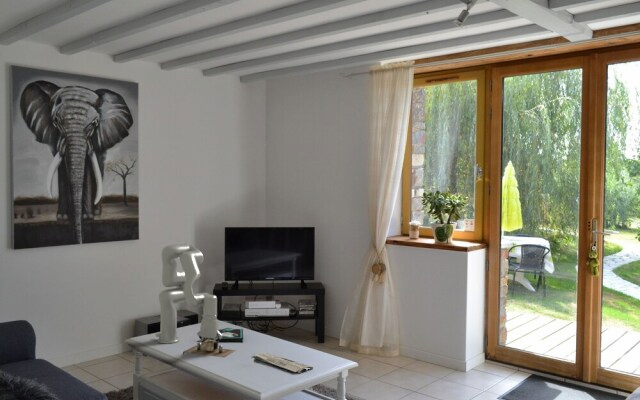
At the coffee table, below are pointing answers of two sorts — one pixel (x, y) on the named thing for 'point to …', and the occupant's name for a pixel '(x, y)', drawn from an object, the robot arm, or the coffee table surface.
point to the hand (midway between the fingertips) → (209, 348)
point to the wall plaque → (230, 336)
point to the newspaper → (281, 362)
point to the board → (218, 352)
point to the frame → (207, 345)
